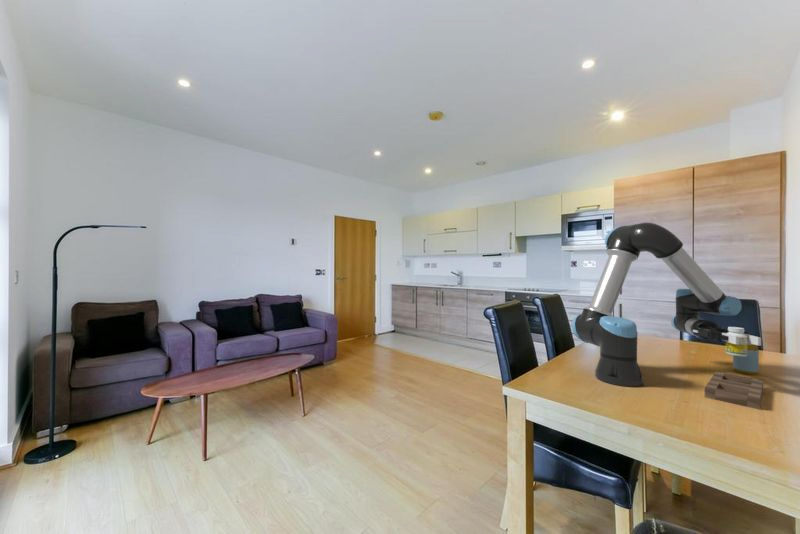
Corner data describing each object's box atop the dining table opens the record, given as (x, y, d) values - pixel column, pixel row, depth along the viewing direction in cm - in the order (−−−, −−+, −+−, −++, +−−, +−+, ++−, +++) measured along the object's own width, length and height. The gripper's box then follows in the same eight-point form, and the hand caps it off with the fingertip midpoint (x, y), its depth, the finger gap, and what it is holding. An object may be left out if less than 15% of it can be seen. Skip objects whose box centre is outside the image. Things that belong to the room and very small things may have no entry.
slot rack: (759, 409, 95) (759, 399, 95) (704, 397, 104) (704, 387, 104) (763, 388, 111) (763, 380, 111) (715, 379, 120) (715, 371, 120)
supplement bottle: (749, 357, 108) (748, 329, 108) (726, 355, 112) (726, 327, 112) (745, 354, 112) (745, 327, 112) (724, 351, 116) (724, 325, 116)
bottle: (746, 369, 132) (746, 334, 132) (764, 375, 125) (763, 337, 125) (728, 369, 132) (728, 333, 133) (744, 374, 126) (744, 337, 126)
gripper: (729, 338, 127) (782, 353, 104) (675, 336, 132) (715, 350, 109) (729, 320, 127) (782, 331, 104) (675, 318, 132) (715, 328, 109)
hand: (748, 341), depth 107 cm, fingers closed on supplement bottle, 5 cm apart
